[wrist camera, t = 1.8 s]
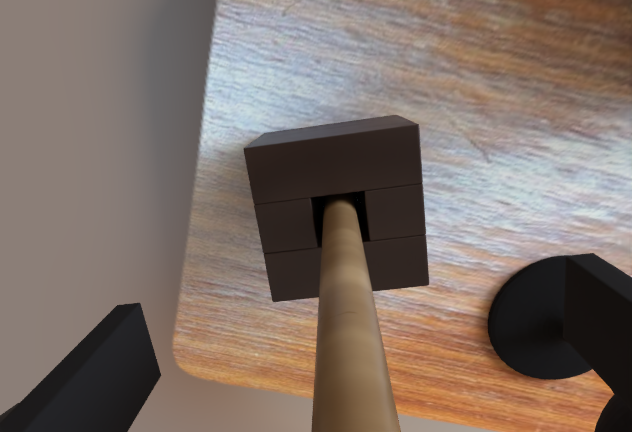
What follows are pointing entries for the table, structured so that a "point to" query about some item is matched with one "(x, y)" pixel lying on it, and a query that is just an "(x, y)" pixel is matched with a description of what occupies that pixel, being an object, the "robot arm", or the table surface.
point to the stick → (349, 333)
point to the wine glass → (543, 333)
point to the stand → (336, 178)
